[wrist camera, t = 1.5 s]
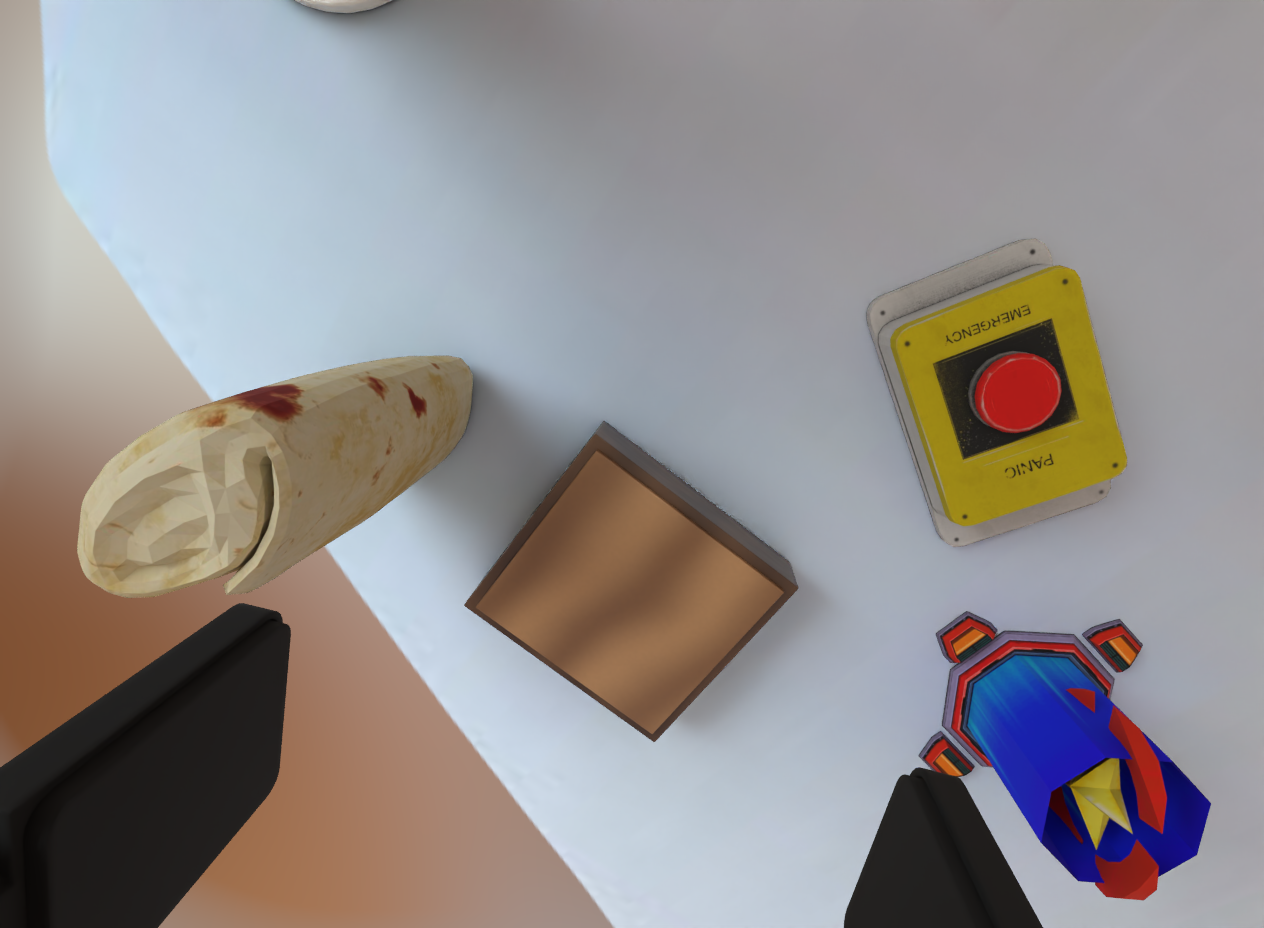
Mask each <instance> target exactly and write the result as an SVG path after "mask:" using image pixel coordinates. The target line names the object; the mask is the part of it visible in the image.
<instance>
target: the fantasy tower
mask: <svg viewBox="0 0 1264 928" xmlns="http://www.w3.org/2000/svg"><path fill="white" fill-rule="evenodd" d="M996 632H997V629H996V628H995V627H994V626H993V625H992V624H991V623H990V622H989V621H987V620H984V619H982V618H980V617H978V616H976V615H974V614H972V613H969V612H967V611H966V612H965V613H964V614H962V615H961V616H960V617H958V618H957V619H955V620H954V621H953V622H951V623H950V624H949V625H947V626H946V627H944V628H943V629H942V630H940V631H939V632H938V633H936V636H937V639H938V642H939V645H940V647H941V650H942V653H943V656H944V657H945V658H946V659H947V660H948V661H949V662H950V663H959V664H957V665H956V666H954V667H953V668H952V669H950V675H949V681H948V688H947V695H946V701H945V708H944V715H943V722H942V726H943V727H944V728H945V729H946V730H947V731H948V732H949V733H950V734H951V735H952V736H953V737H954V738H955V739H956V740H957V741H958V742H959V743H960V744H961V745H962V747H963V748H964V749H965V750H966V751H967V752H968V753H969V754H970V755H971V756H972V757H973V758H974V759H975V760H976V761H977V762H978V763H979V764H980V765H981V766H984V767H994V769H995V771H996V772H997V774H998V775H999V777H1000V778H1001V780H1002V782H1003V783H1004V785H1005V786H1006V788H1007V790H1008V791H1009V793H1010V794H1011V796H1012V797H1013V799H1014V801H1015V802H1016V804H1017V805H1018V807H1019V809H1020V810H1021V812H1022V813H1023V815H1024V817H1025V818H1026V820H1027V821H1028V823H1029V824H1030V826H1031V828H1032V829H1033V831H1034V832H1035V834H1036V836H1037V837H1038V839H1039V840H1040V842H1041V843H1042V844H1043V845H1044V846H1045V847H1046V848H1047V849H1048V850H1049V851H1050V852H1051V854H1052V855H1053V856H1054V857H1055V858H1056V859H1057V860H1058V861H1059V862H1060V863H1061V864H1062V865H1063V866H1064V867H1065V868H1066V869H1067V870H1068V871H1069V872H1070V873H1071V874H1072V875H1073V876H1074V877H1075V878H1076V879H1077V880H1078V881H1084V882H1095V885H1096V886H1097V887H1098V888H1099V890H1100V891H1101V892H1102V893H1103V894H1104V895H1105V896H1106V897H1113V898H1123V899H1135V900H1145V899H1146V898H1147V897H1148V896H1150V895H1151V894H1152V893H1153V892H1154V891H1156V890H1157V883H1158V877H1159V876H1161V875H1162V874H1164V873H1166V872H1168V871H1170V870H1171V869H1173V868H1175V867H1177V866H1178V865H1180V864H1182V863H1184V862H1185V861H1187V860H1189V859H1191V858H1192V857H1194V856H1196V855H1197V853H1198V849H1199V845H1200V842H1201V838H1202V834H1203V831H1204V827H1205V824H1206V820H1207V816H1208V813H1209V809H1210V806H1211V803H1210V802H1209V801H1208V799H1207V798H1206V797H1205V796H1204V795H1203V794H1202V793H1201V792H1200V791H1199V790H1198V789H1197V787H1196V786H1195V785H1194V784H1193V783H1192V782H1191V781H1190V780H1189V779H1188V778H1187V777H1186V775H1185V774H1184V773H1183V772H1182V771H1181V770H1180V769H1179V768H1178V767H1177V766H1176V765H1175V763H1174V762H1173V761H1172V760H1171V759H1170V758H1169V757H1168V756H1167V755H1166V754H1164V753H1163V752H1162V751H1161V750H1160V749H1159V748H1158V747H1157V746H1156V745H1155V744H1154V743H1153V742H1152V741H1151V740H1150V739H1149V738H1148V737H1147V736H1146V735H1145V734H1144V733H1143V732H1142V731H1141V730H1140V729H1139V728H1138V727H1137V726H1136V725H1135V724H1134V723H1133V722H1132V721H1131V720H1130V719H1129V718H1128V717H1127V716H1126V715H1125V714H1124V713H1123V712H1122V711H1121V710H1120V709H1119V708H1118V707H1117V706H1115V705H1114V704H1113V703H1112V702H1111V701H1110V697H1111V693H1112V688H1113V684H1114V678H1113V677H1112V676H1111V675H1110V673H1109V672H1108V671H1107V670H1106V669H1105V668H1104V667H1103V666H1102V665H1101V664H1100V662H1099V661H1098V660H1097V659H1096V658H1095V657H1094V656H1093V655H1092V654H1091V653H1090V651H1089V650H1088V649H1087V648H1086V647H1085V646H1084V645H1083V644H1082V643H1081V642H1080V640H1079V639H1078V638H1077V637H1076V636H1075V635H1074V634H1056V633H1037V632H1018V631H1004V632H1002V633H1001V634H1000V635H998V636H997V637H995V638H994V636H995V634H996ZM1082 635H1083V636H1084V637H1085V638H1086V640H1087V641H1088V642H1089V643H1090V644H1091V645H1092V646H1093V647H1094V648H1095V649H1096V651H1097V652H1098V653H1099V654H1100V655H1101V656H1102V657H1103V658H1104V659H1105V660H1106V662H1107V663H1108V664H1109V665H1110V666H1111V667H1112V668H1113V669H1114V670H1115V671H1116V673H1117V672H1123V671H1124V670H1126V669H1128V668H1129V667H1130V666H1131V664H1132V663H1133V661H1134V660H1135V658H1136V657H1137V655H1138V653H1139V652H1140V650H1141V648H1142V646H1143V645H1142V643H1141V642H1140V641H1139V640H1138V639H1137V638H1136V637H1135V636H1134V635H1133V633H1132V632H1131V631H1130V630H1129V629H1128V628H1127V627H1126V626H1125V624H1124V623H1123V622H1122V621H1121V620H1120V619H1118V620H1115V621H1111V622H1108V623H1105V624H1102V625H1098V626H1095V627H1092V628H1090V629H1089V630H1088V631H1086V632H1085V633H1083V634H1082ZM919 757H920V758H921V759H922V760H923V761H924V762H925V763H926V764H927V765H928V766H929V767H930V768H931V769H932V770H933V771H936V772H940V773H944V774H949V775H953V776H956V777H960V776H965V775H967V774H968V773H970V772H971V771H972V770H973V768H974V765H973V764H972V763H971V762H970V761H969V760H968V759H967V758H966V757H965V756H964V755H963V754H962V753H961V752H960V751H959V750H958V749H957V748H956V747H955V746H954V745H953V744H952V743H951V741H950V740H949V739H948V738H947V737H946V736H945V735H944V734H943V733H942V732H941V731H940V732H939V733H937V734H936V735H934V736H933V737H931V739H930V740H929V742H928V743H927V745H926V746H925V747H924V749H923V750H922V752H921V753H920V755H919Z"/></svg>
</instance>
